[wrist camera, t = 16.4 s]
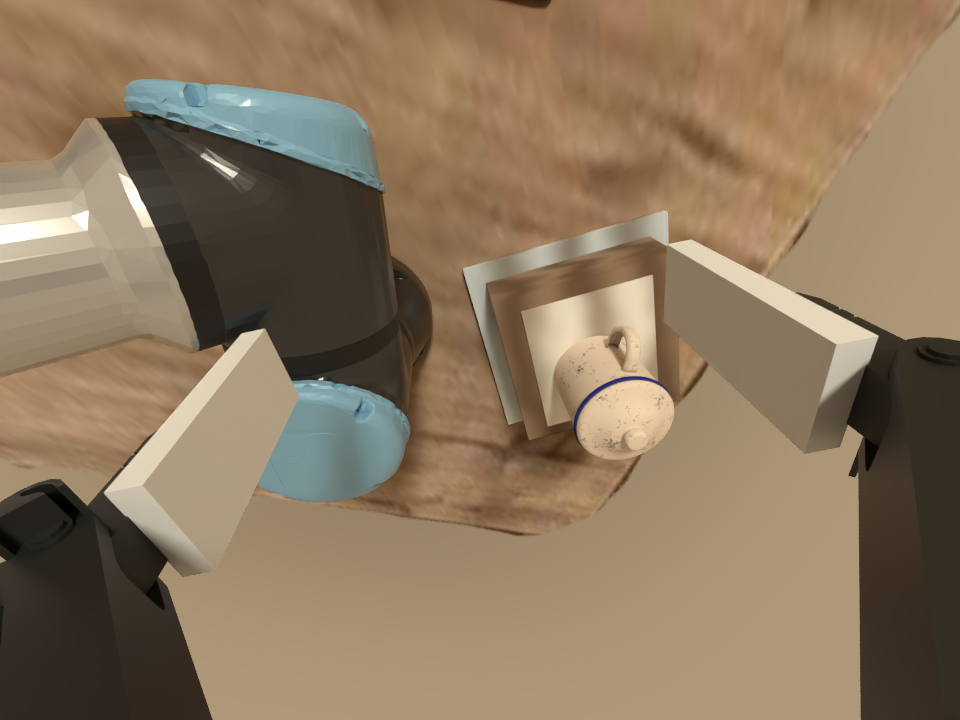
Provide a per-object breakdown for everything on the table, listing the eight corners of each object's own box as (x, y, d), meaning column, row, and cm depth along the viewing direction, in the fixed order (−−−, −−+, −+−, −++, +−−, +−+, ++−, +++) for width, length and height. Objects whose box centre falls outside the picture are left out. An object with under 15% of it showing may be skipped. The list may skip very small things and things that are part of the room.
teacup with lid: (623, 404, 48) (672, 481, 38) (545, 403, 47) (575, 482, 37) (653, 307, 42) (721, 368, 32) (564, 303, 41) (606, 365, 31)
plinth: (507, 421, 57) (516, 457, 51) (462, 268, 46) (467, 292, 40) (669, 377, 56) (697, 410, 50) (664, 210, 44) (700, 226, 38)
